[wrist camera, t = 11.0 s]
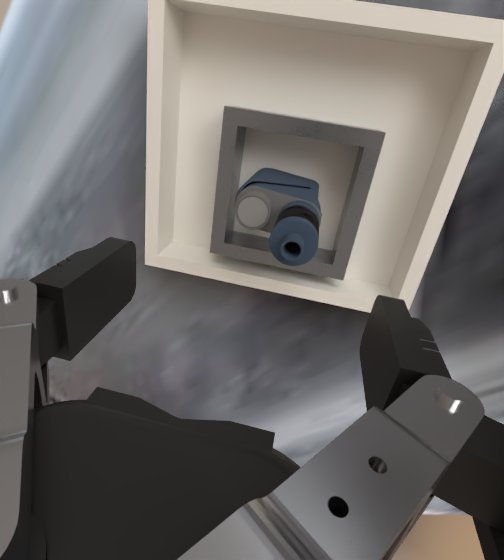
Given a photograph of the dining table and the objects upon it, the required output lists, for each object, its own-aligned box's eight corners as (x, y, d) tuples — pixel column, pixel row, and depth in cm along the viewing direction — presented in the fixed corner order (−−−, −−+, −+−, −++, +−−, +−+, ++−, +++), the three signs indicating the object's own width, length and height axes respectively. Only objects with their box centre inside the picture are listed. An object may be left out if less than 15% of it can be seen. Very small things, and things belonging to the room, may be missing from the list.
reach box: (174, -7, 24) (148, -27, 20) (490, 36, 22) (523, 22, 18) (164, 246, 32) (144, 264, 28) (395, 295, 30) (405, 320, 26)
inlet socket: (234, 106, 25) (224, 105, 23) (379, 129, 24) (385, 132, 22) (219, 239, 30) (209, 252, 27) (341, 264, 29) (343, 280, 26)
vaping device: (315, 215, 27) (309, 283, 17) (249, 195, 28) (202, 250, 17) (327, 182, 26) (328, 232, 16) (257, 161, 27) (212, 197, 16)
